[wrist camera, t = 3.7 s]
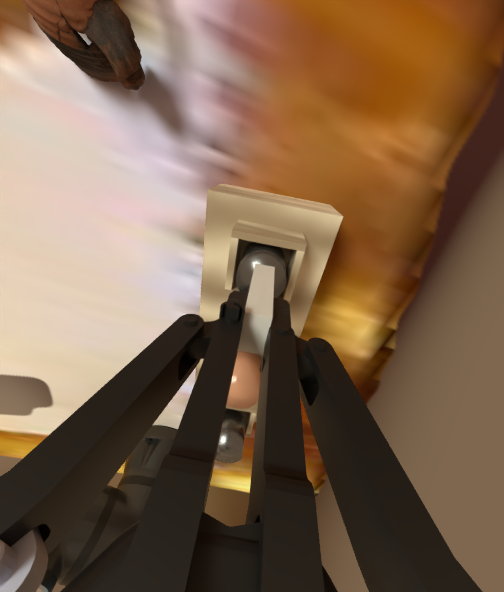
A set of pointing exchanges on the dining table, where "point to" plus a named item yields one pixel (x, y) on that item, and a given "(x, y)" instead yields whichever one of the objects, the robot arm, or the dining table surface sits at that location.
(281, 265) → the knob near
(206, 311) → the beige long block
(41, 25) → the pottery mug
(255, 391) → the knob middle
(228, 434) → the knob far
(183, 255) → the dining table surface
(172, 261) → the dining table surface
